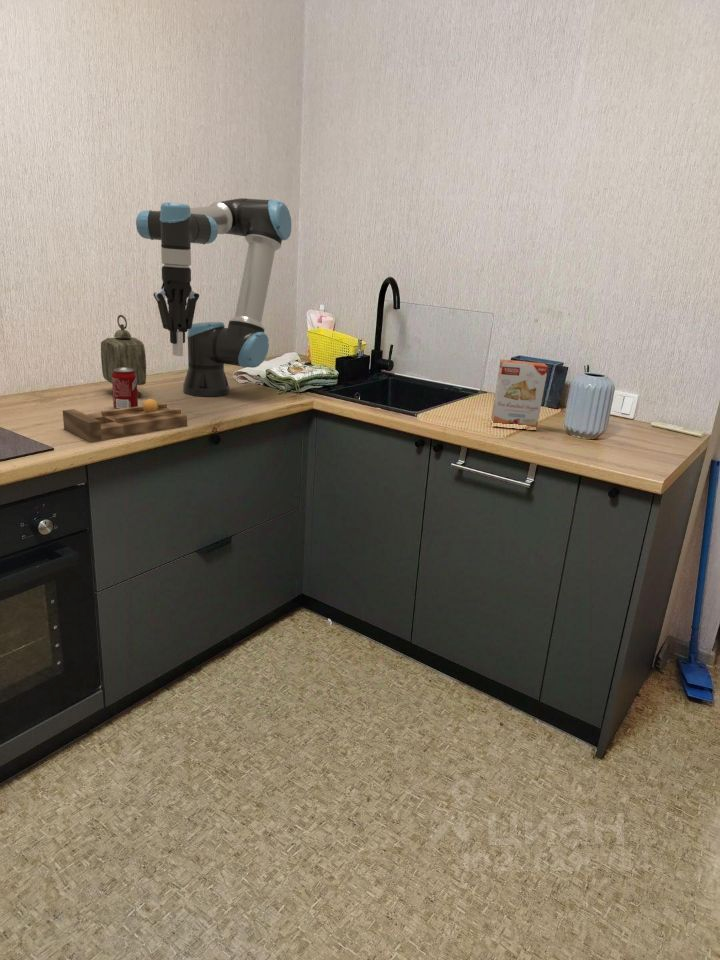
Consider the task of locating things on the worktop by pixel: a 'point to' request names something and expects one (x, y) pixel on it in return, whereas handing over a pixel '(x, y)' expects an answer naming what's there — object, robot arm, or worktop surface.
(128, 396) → the soda can
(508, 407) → the cracker box
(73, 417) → the board
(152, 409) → the ball
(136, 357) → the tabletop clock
